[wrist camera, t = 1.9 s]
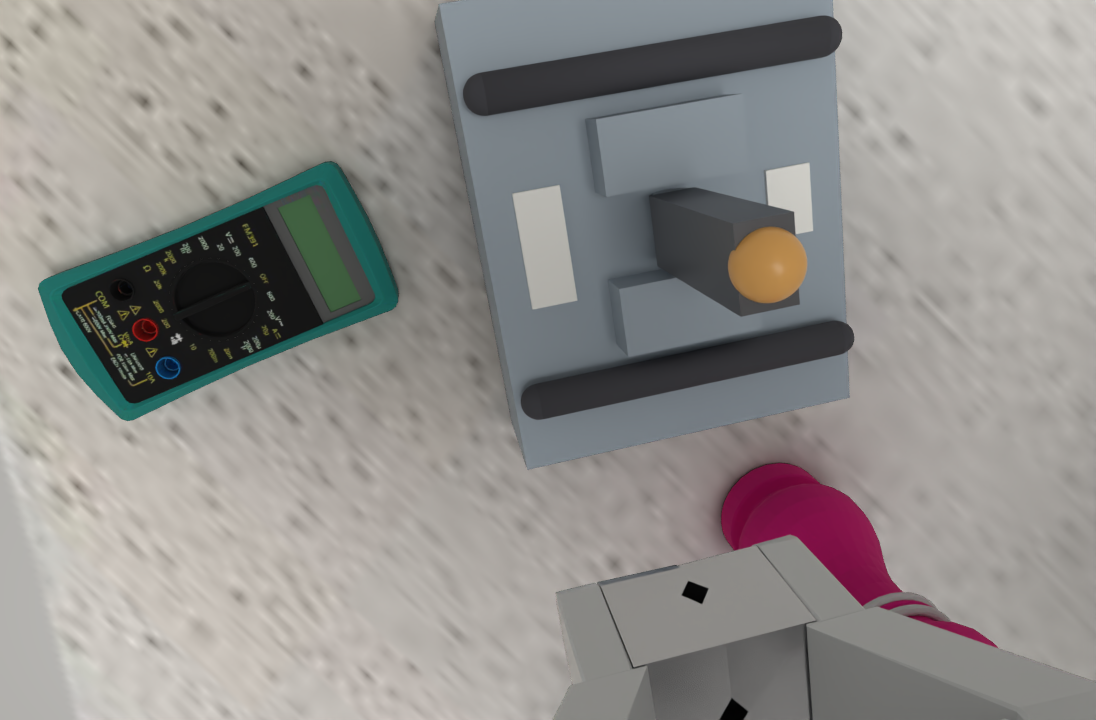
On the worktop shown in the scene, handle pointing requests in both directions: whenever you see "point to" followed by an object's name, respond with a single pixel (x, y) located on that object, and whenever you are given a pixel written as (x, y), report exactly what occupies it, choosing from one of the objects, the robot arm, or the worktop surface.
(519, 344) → the box
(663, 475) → the worktop surface
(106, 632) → the worktop surface
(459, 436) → the worktop surface
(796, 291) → the breaker lever
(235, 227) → the digital multimeter
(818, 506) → the pepper mill
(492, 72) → the dark parallel rails
